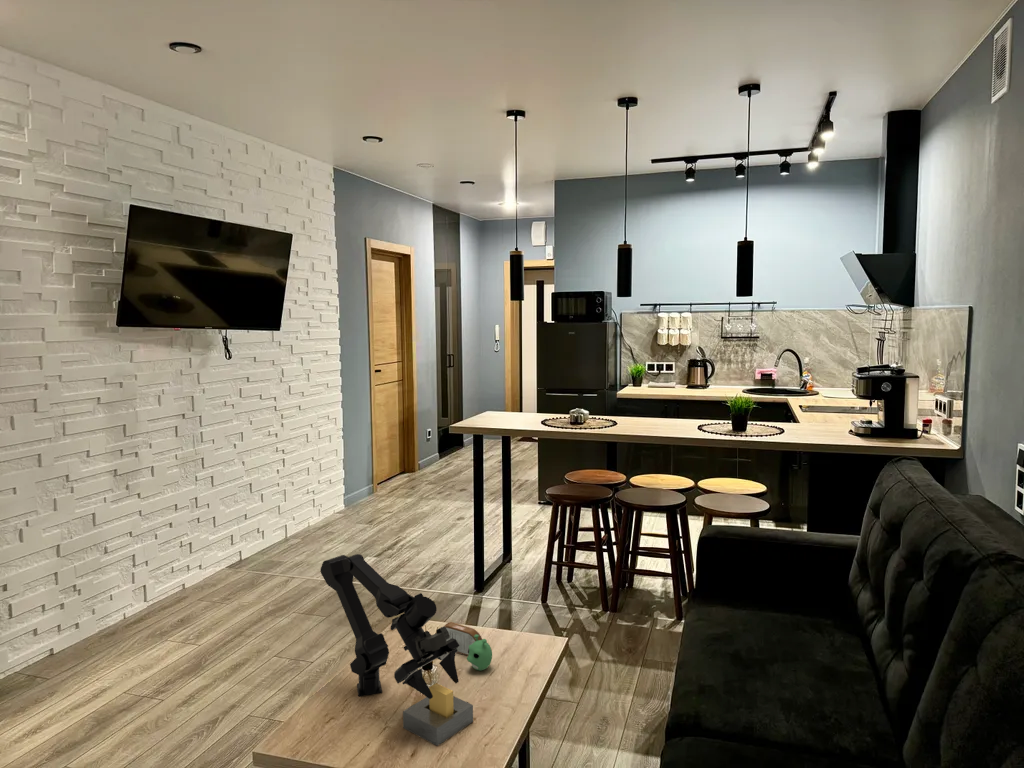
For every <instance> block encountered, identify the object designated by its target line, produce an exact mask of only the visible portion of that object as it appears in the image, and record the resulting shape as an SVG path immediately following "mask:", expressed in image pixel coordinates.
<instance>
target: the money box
mask: <svg viewBox="0 0 1024 768" xmlns="http://www.w3.org/2000/svg"><path fill="white" fill-rule="evenodd" d="M453 711H454V714H453V715H452V716H450V717H449V718H445V717H443V716H441V715H439V714H437V713H435V712H433V711H430V706H429V698H428V697H426V696H425V697H424V698H422V699H420V700H419V701H417V702H416V703H414V704H413V705H412V704H411V706H409V707H408V708H406V709H403V711H402V717H403V718H402V727H403V729H404V730H406V731H408V732H410V733H412V734H414V735H416V736H417V737H419V738H421V739H424V740H425V741H427V742H429V743H431V744H432V745H434V746H435V747H438V746H439V745H441V744H442V743H444V742H445V741H447V740H449V738H451V737H453V736H454V735H455V734H457V733H458V732H461V731H462V730H463V729H464V728H466V727H467V726H469V725H470V724H472V723H473V722H474V705H473V704H472V703H470V702H467V701H466V700H463V699H462V698H458V697H457V696H454V695H453Z"/></svg>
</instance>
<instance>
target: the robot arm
mask: <svg viewBox="0 0 1024 768" xmlns="http://www.w3.org/2000/svg"><path fill="white" fill-rule="evenodd" d="M320 574H321V576H322V578H323V579H324V581H325V584H326V585H327V586H328V587H330V588H331V589H332V590H334V591H335V592H336V594H337V597H338V598H339V599H338V600H339V601H340V603H341V607H342V609H343V611H344V613H345V615H346V618H347V620H348V623H349V625H350V628H351V630H352V633H353V635H354V637H355V646H354V653H355V658H354V660H352V661H351V662H350V664H349V666H350V671H351V673H354V674H356V675H358V683H357V684H356V690H357V695H358V697H367V696H373V695H379V694H383V689H382V682H381V680H380V679H381V678H380V676H381V675H380V668H381V667H383V666H386V665H387V662H388V659H389V654H390V649H389V645H388V643H387V641H386V639H385V637H384V636H385V635H384V634H383V633H377V632H375V630H373V628H372V626H371V623H370V621H369V618H368V616H367V614H366V611H365V609H364V606H363V604H362V601H361V599H360V597H359V595H358V593H357V590H356V588H355V585H354V578H355V579H356V580H357V581H358V582H359V583H360V584H361V586H363V588H364V589H366V590H367V591H368V592H369V593H370V594H371V595H372V597H373V598H374V599H375V604H376V607H377V608H378V610H379V611H380V612H381V614H382V615H383V616H384V617H385V618H388V619H389V618H392V620H391V625H390V630H391V631H394V630H396V631H397V633H398V634H399V636H400V638H401V639H402V641H403V643H404V646H403V650H404V651H405V652H406V651H408V652H409V654H410V656H411V657H412V659H410V660H407V661H406V662H404V663H402V664H401V665H400V666H399V667H398V668H397V669H396V670H395V671H394V676H393V677H394V680H395V682H396V683H397V684H398V685H399V684H400V683H401V682H402V685H407V686H409V687H411V688H413V689H415V690H416V691H418V692H419V693H420V694H421V695H424V696H425V698H426V697H428V698H429V699H431V698H432V697H433V695H432V693H431V691H430V689H429V687H430V686H429V685H428V684H427V682H426V680H425V678H424V677H423V668H422V667H424V666H426V665H427V664H429V663H432V662H433V661H435V660H440V662H439V663H438V664H439V666H441V667H442V669H443V670H444V671H445V673H446V674H447V675H448V677H449V678H450V679H451V680H452V682H454V684H458V683H459V676H458V672H457V671H458V670H457V667H456V660H455V659H456V654H457V651H458V649H457V648H458V647H459V646H460V645H459V644H458V642H457V640H456V639H453V638H452V639H450V640H448V641H446V640H447V639H449V637H450V635H449V632H448V631H447V629H446V628H445V625H443V626H444V627H443V626H441V627H439V628H437V629H436V633H434V634H431V633H430V631H428V630H425V631H424V629H423V627H424V626H425V625H426V624H427V623H428V622H429V621H430V620H432V618H433V617H434V616H435V614H437V610H438V609H437V604H436V603H435V601H434V600H432V599H431V598H430V597H427V596H424V594H423V593H418V594H415V595H414V596H413V595H411V594H409V593H408V592H407V591H406V590H405V589H403V588H402V587H400V586H399V585H397V584H392V583H390V582H388V581H387V580H386V579H384V578H383V577H382V576H381V574H379V573H378V572H377V571H376V570H375V569H374V568H373V567H372V566H371V565H370V564H369V563H368V562H367V561H366V560H365V558H364V556H363V555H362V554H359V553H356V554H353V555H350V556H347V555H345V554H341V555H339V556H338V555H337V556H335V557H332V558H329V559H326V560H324V561H323V562H322V564H321V566H320ZM393 617H394V618H393Z"/></svg>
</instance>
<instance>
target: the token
mask: <svg viewBox="0 0 1024 768" xmlns="http://www.w3.org/2000/svg"><path fill="white" fill-rule="evenodd" d="M428 687H429V689H430V691H431V693H432V695H433V697H432V698H431V699H429V706H430V711H433V712H435V713H437V714H439V715H441V716H443V717H445V718H449V717H450V716H452V715H453V714H454V711H453V696H454V690H452V689H450V688H448V687H446V686H443V685H441V684H439V683H437V682H435V683H434V684H432V685H430V686H428Z"/></svg>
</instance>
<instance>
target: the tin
mask: <svg viewBox="0 0 1024 768" xmlns="http://www.w3.org/2000/svg"><path fill="white" fill-rule="evenodd" d="M444 626H445V628H446V629H447V631H448V632H449V635H450V637H449V639H447V640H446V641H448V640H450V639H452V638H453V639H456V640H457V642H458V644H459V645H460V646H459V647H458V648H457V649H458V651H457V652H456V654H457V653H458V654H460V655H463V656H466V655H468V654H469V653H468V649H469V645H472V644H473V643H474V642H475V641H476V638H474V636H475V635H476V634H477V635H479V637H478V640H482V639H483V638H482V635H481V634H480V632H478V630H476V629H475V628H473V627H470V626H467V625H462V624H460V623H456V622H452V621H450V622H447V623H446V624H445V625H443V626H442V627H444Z"/></svg>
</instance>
